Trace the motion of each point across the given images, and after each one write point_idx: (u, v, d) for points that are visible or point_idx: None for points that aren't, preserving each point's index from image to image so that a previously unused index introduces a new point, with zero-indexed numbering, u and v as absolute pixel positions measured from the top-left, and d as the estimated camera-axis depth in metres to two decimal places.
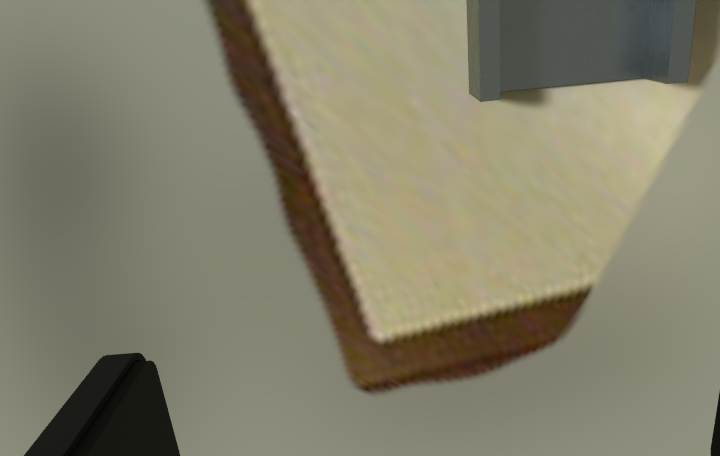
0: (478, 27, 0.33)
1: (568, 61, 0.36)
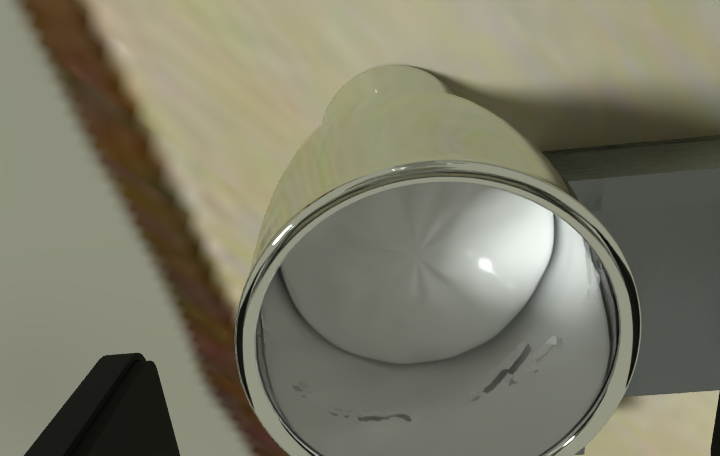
0: None
1: (672, 367, 0.26)
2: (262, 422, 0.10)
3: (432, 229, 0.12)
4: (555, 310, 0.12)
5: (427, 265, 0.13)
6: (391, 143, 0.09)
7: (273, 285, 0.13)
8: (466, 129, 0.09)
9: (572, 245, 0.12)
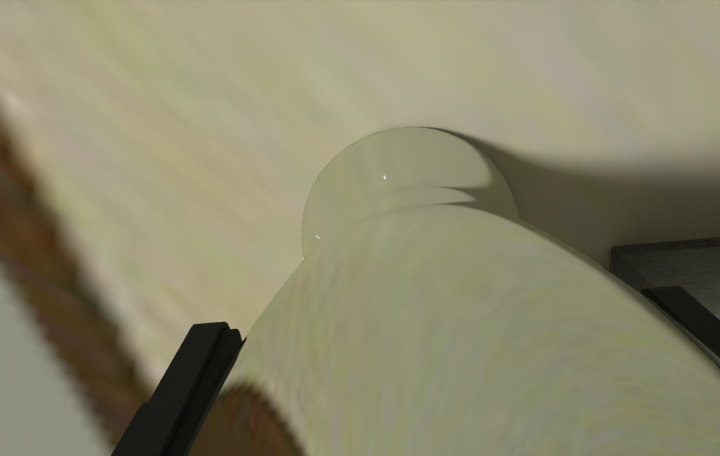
0: None
1: None
2: None
3: None
4: None
5: None
6: None
7: None
8: None
9: None
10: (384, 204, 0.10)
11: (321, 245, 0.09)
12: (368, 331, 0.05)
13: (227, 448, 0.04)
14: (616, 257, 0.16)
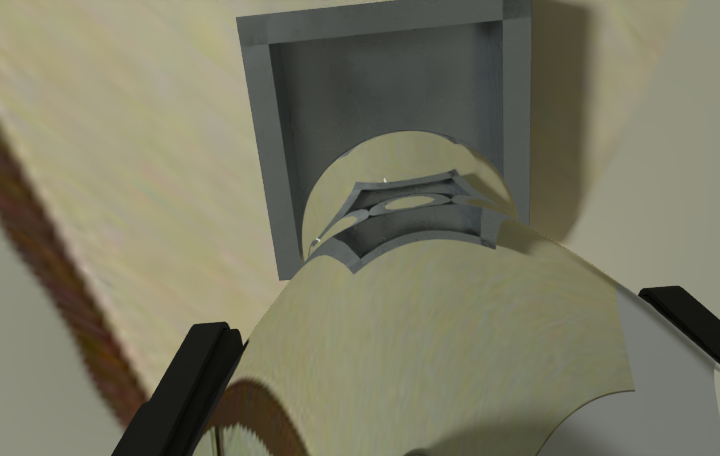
0: None
1: None
2: None
3: None
4: None
5: None
6: None
7: None
8: None
9: None
10: (385, 208, 0.10)
11: (322, 249, 0.09)
12: (369, 338, 0.05)
13: (228, 455, 0.04)
14: None
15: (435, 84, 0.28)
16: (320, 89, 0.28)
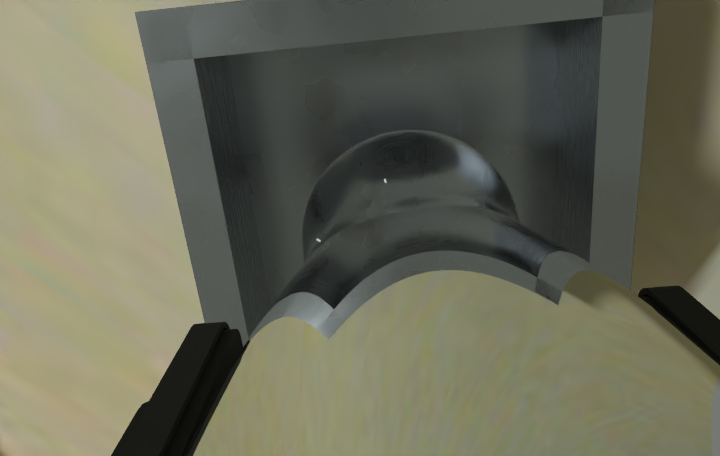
0: None
1: None
2: None
3: None
4: None
5: None
6: None
7: None
8: None
9: None
10: (385, 208, 0.10)
11: (322, 249, 0.09)
12: (369, 339, 0.05)
13: None
14: None
15: (472, 118, 0.18)
16: (291, 125, 0.18)
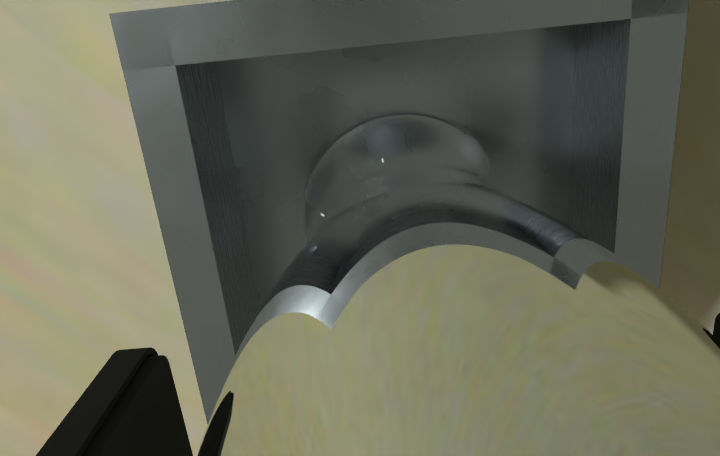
0: None
1: None
2: None
3: None
4: None
5: None
6: None
7: None
8: (673, 427, 0.04)
9: None
10: (385, 182, 0.11)
11: (330, 218, 0.10)
12: (383, 273, 0.06)
13: (274, 364, 0.05)
14: None
15: (482, 129, 0.16)
16: (286, 137, 0.16)
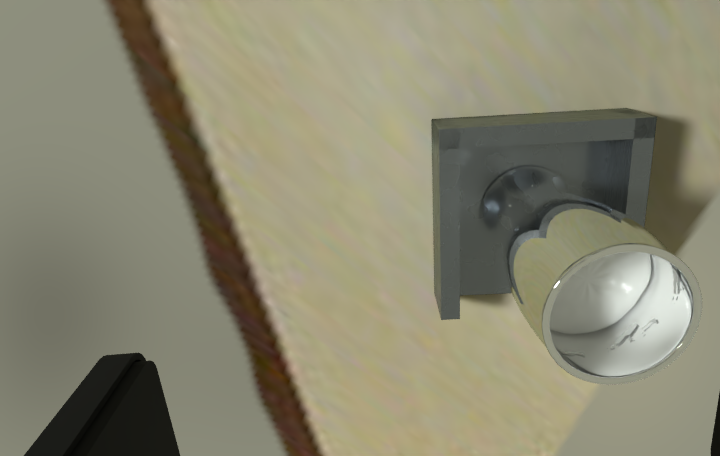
0: (440, 257, 0.35)
1: None
2: (546, 343, 0.23)
3: (596, 267, 0.26)
4: (652, 307, 0.27)
5: (591, 284, 0.27)
6: (606, 234, 0.23)
7: None
8: (631, 228, 0.24)
9: (662, 277, 0.26)
10: (544, 193, 0.31)
11: (529, 204, 0.30)
12: (571, 211, 0.26)
13: (550, 228, 0.25)
14: (432, 122, 0.36)
15: (565, 174, 0.36)
16: (477, 174, 0.36)
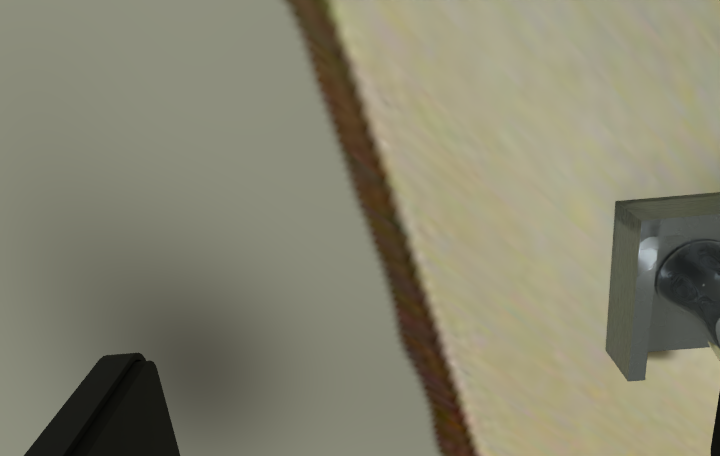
0: (631, 328, 0.39)
1: (695, 331, 0.42)
2: None
3: None
4: None
5: None
6: None
7: None
8: None
9: None
10: None
11: None
12: None
13: None
14: (617, 205, 0.39)
15: None
16: None
